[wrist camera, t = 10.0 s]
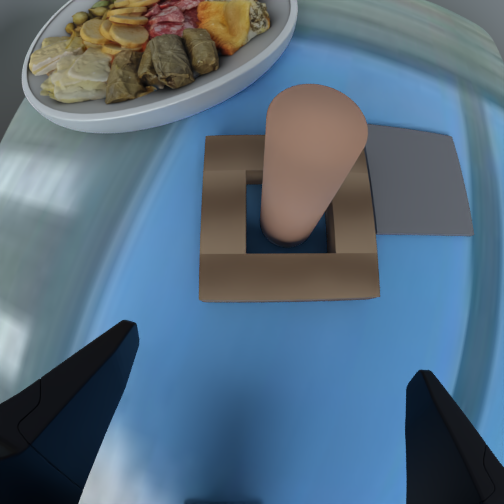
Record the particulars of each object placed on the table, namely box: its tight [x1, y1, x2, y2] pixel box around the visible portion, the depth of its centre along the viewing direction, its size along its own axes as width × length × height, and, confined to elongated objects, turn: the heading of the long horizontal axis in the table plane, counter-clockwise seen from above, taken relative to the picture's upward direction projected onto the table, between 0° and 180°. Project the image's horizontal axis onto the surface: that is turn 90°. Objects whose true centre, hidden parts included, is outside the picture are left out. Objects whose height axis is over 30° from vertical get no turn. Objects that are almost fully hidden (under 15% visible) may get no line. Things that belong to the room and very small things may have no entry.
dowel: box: [260, 84, 368, 248], centre depth 18 cm, size 4×4×13 cm
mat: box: [364, 124, 474, 236], centre depth 25 cm, size 10×10×1 cm
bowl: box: [22, 0, 298, 133], centre depth 25 cm, size 30×30×8 cm
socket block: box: [199, 135, 380, 302], centre depth 23 cm, size 12×12×2 cm
